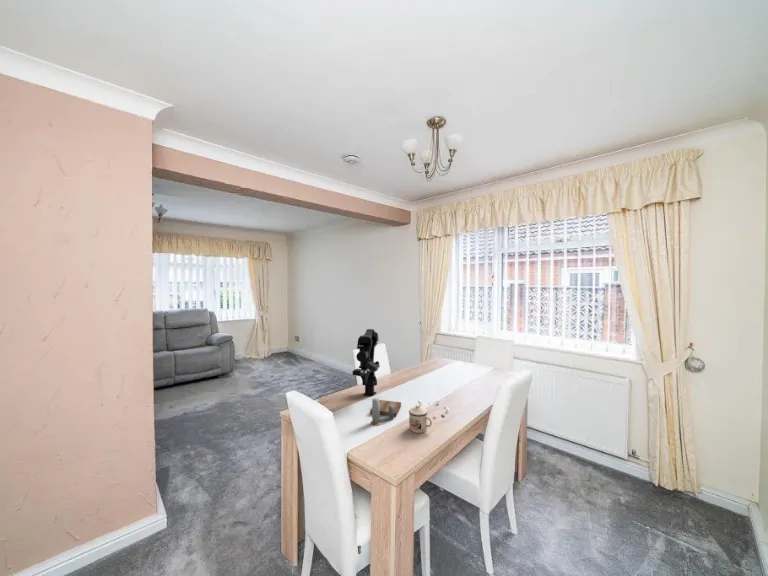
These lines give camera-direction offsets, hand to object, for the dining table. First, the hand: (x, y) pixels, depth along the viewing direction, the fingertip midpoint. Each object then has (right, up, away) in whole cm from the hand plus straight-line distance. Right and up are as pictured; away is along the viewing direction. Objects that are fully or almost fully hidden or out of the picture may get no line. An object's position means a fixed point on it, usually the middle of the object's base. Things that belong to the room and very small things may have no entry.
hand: (365, 383), depth 174 cm
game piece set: (+38, -13, -9) cm, 41 cm away
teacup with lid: (+29, -13, -30) cm, 44 cm away
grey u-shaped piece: (+11, -12, -21) cm, 27 cm away
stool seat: (+11, -12, -14) cm, 22 cm away
